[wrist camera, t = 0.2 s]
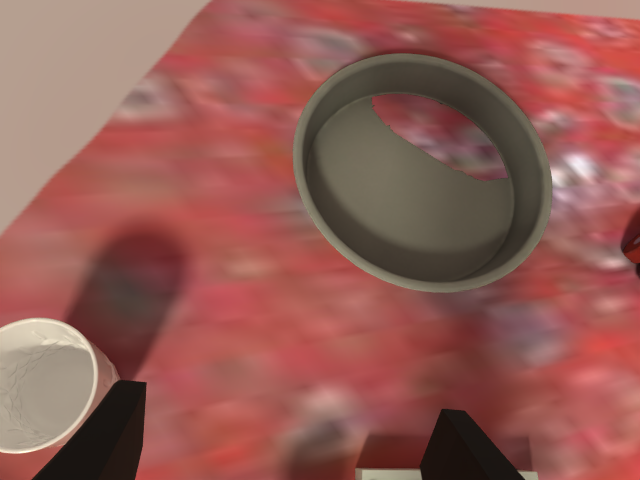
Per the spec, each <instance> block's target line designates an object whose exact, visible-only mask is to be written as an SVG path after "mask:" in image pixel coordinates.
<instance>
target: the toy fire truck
mask: <svg viewBox="0 0 640 480" xmlns="http://www.w3.org/2000/svg"><path fill="white" fill-rule="evenodd" d="M623 253H624V255H625V256H626V257H627V258H628V259H629V260H630V261H631V262H633V263H640V234H639V235H637V236H636V237H635V238H634V239H633V240H631V241H630V242H629V243H628V244H627V246H626V247H625V249H624V251H623Z"/></svg>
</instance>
